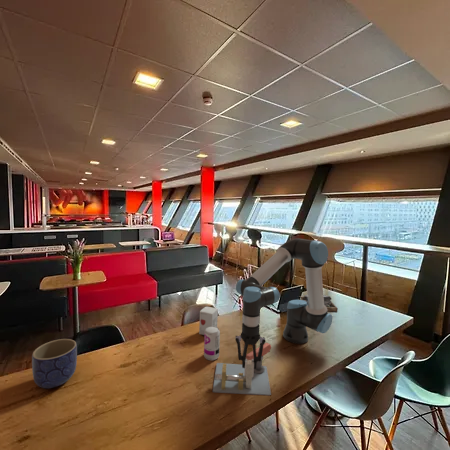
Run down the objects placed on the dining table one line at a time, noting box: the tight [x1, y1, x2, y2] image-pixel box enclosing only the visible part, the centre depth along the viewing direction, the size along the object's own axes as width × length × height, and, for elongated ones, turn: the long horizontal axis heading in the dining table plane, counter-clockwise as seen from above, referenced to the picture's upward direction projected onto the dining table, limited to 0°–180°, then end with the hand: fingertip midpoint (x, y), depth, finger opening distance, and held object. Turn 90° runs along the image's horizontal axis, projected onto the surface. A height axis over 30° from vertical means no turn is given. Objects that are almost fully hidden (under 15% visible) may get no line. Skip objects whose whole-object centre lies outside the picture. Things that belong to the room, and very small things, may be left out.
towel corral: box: [300, 296, 338, 313], centre depth 207 cm, size 25×22×3 cm
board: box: [212, 359, 272, 396], centre depth 115 cm, size 25×19×7 cm
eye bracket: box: [222, 363, 243, 390], centre depth 110 cm, size 9×6×8 cm, turn 86°
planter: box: [31, 338, 78, 389], centre depth 111 cm, size 17×17×15 cm
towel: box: [303, 294, 332, 307], centre depth 207 cm, size 15×18×8 cm
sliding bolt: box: [213, 360, 252, 389], centre depth 109 cm, size 16×3×11 cm, turn 87°
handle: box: [246, 342, 272, 361], centre depth 121 cm, size 18×5×4 cm, turn 134°
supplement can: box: [203, 326, 221, 361], centre depth 132 cm, size 8×8×15 cm
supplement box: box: [198, 306, 219, 336], centre depth 157 cm, size 9×9×15 cm
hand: (248, 374), depth 109 cm, fingers closed on sliding bolt, 2 cm apart
